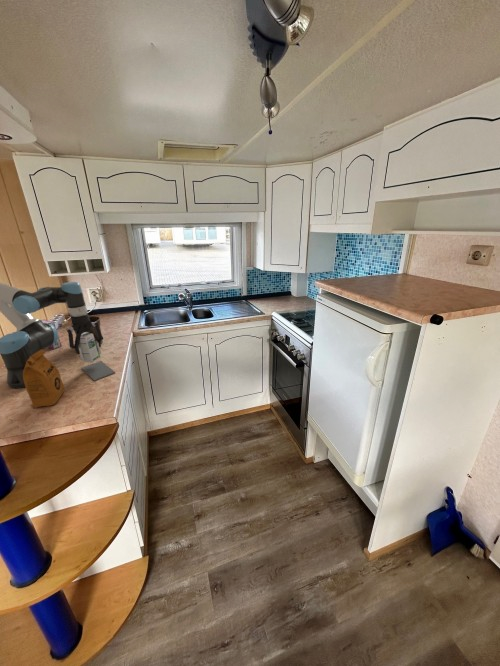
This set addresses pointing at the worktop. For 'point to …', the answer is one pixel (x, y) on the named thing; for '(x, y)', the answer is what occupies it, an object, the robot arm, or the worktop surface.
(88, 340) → the syrup box
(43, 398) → the coffee package
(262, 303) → the worktop surface
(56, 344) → the candy bar box
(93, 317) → the plant pot
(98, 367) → the rubber mat
